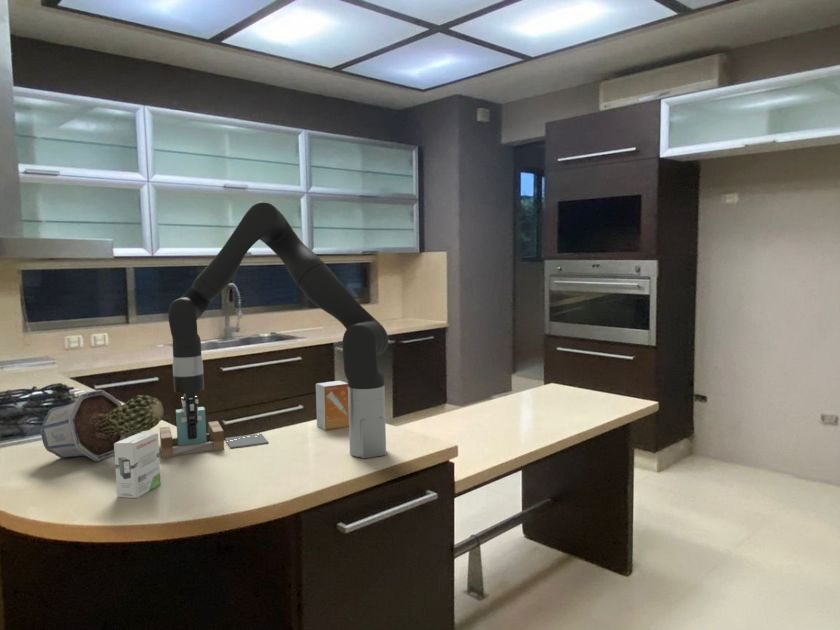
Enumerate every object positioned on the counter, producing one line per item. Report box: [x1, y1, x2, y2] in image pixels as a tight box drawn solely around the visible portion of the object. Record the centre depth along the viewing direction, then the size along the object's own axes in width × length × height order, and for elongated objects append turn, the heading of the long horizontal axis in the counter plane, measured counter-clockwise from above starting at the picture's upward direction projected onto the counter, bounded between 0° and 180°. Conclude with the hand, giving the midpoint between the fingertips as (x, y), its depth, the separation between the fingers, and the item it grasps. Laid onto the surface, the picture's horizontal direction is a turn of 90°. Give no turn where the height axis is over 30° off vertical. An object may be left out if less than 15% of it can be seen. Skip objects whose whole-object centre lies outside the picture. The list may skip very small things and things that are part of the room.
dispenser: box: [159, 420, 225, 459], centre depth 164 cm, size 12×15×5 cm
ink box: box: [114, 432, 161, 499], centre depth 132 cm, size 9×5×12 cm, turn 169°
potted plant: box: [39, 389, 165, 462], centre depth 156 cm, size 18×18×30 cm
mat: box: [224, 433, 269, 449], centre depth 169 cm, size 10×10×1 cm
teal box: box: [175, 406, 207, 446], centre depth 164 cm, size 4×7×10 cm, turn 115°
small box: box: [315, 380, 349, 431], centre depth 183 cm, size 8×6×13 cm
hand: (191, 436), depth 164 cm, fingers closed on teal box, 4 cm apart
